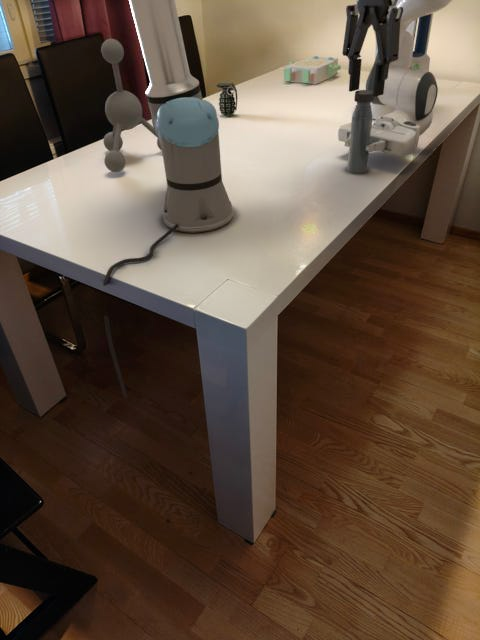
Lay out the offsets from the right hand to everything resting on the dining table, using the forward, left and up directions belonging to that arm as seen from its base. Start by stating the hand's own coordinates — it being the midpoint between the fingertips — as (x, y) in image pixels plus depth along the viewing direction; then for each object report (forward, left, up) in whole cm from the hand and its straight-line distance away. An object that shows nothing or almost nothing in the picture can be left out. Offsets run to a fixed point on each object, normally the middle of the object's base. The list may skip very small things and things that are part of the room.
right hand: (357, 146), depth 120 cm
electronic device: (-82, +3, -6) cm, 82 cm away
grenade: (-40, -52, -6) cm, 66 cm away
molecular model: (+5, -60, -6) cm, 61 cm away
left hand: (-1, +1, +12) cm, 12 cm away
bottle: (-1, 0, -6) cm, 6 cm away
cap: (-1, 0, +12) cm, 12 cm away
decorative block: (-99, -38, -6) cm, 106 cm away
